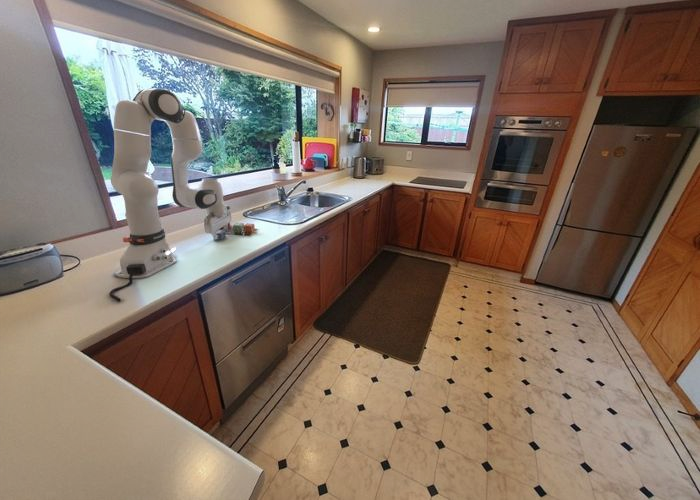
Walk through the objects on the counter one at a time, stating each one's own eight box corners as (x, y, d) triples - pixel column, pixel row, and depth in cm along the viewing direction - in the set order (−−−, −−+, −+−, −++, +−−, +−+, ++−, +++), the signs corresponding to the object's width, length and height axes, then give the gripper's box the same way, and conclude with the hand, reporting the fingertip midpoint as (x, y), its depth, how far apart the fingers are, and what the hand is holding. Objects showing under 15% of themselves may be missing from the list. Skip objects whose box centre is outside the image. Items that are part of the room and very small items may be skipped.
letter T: (222, 241, 146) (220, 233, 144) (214, 241, 146) (212, 233, 144) (226, 238, 150) (225, 230, 148) (218, 238, 150) (217, 230, 148)
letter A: (241, 233, 156) (240, 225, 155) (233, 232, 157) (232, 225, 155) (244, 230, 160) (243, 223, 159) (237, 230, 161) (236, 222, 159)
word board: (249, 237, 153) (249, 236, 152) (219, 235, 154) (219, 234, 154) (258, 229, 164) (257, 228, 163) (229, 228, 165) (229, 227, 164)
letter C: (252, 233, 156) (251, 226, 154) (244, 233, 156) (243, 225, 154) (255, 231, 160) (254, 223, 158) (247, 230, 160) (246, 223, 158)
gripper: (210, 216, 132) (216, 243, 138) (231, 205, 150) (235, 229, 156) (198, 216, 132) (203, 242, 138) (220, 204, 151) (224, 228, 157)
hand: (220, 235), depth 147 cm, fingers open, 8 cm apart
